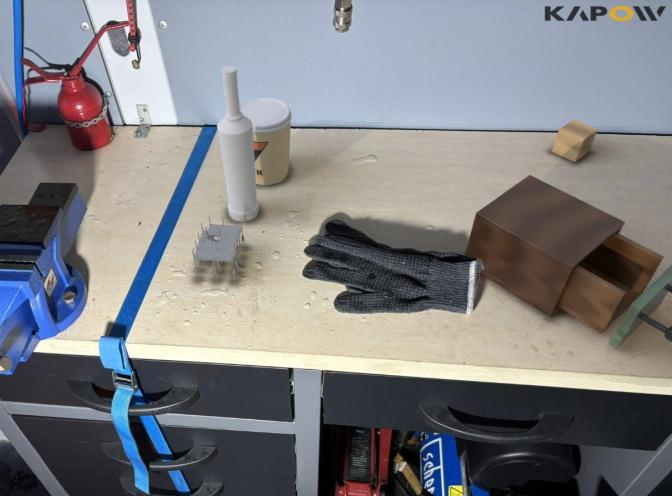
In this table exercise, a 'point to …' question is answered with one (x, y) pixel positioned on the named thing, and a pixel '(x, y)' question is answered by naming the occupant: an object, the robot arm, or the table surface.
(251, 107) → the beige lidded tub
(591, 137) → the block
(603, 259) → the drawer
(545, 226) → the cabinet
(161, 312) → the table surface
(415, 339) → the table surface
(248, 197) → the bottle
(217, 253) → the building frame
